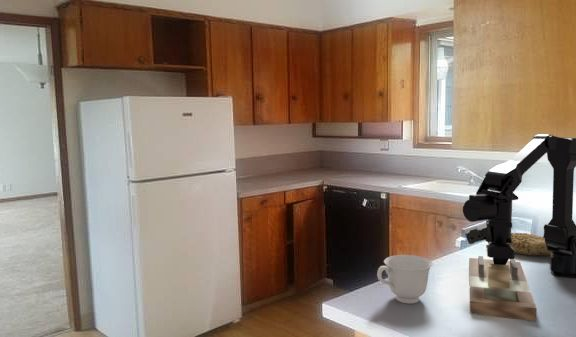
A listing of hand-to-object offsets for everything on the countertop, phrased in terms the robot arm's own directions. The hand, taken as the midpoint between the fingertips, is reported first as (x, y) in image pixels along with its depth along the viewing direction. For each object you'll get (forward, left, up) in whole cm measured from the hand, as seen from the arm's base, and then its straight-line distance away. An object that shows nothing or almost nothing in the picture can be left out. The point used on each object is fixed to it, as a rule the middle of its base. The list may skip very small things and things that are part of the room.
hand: (497, 274), depth 126 cm
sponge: (-10, -38, -5) cm, 39 cm away
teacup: (+23, +15, -4) cm, 28 cm away
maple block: (0, +5, -1) cm, 5 cm away
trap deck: (0, +1, -4) cm, 4 cm away
